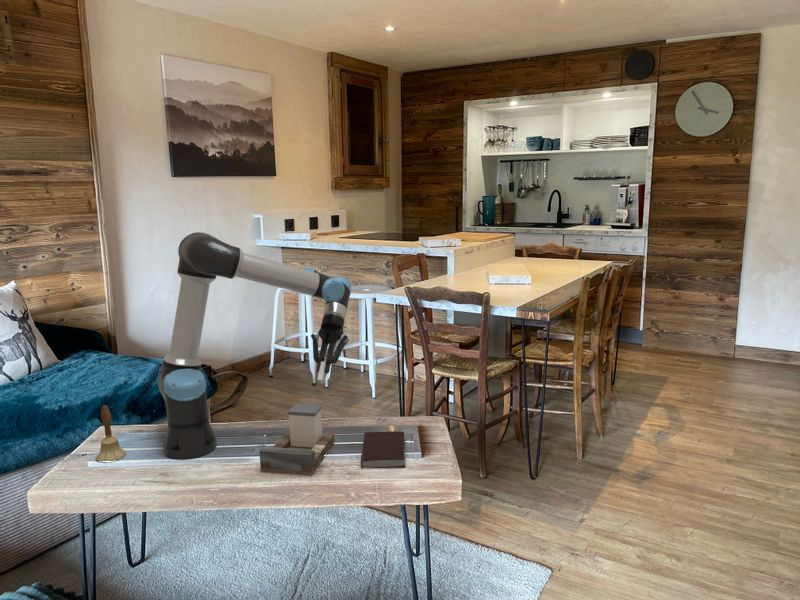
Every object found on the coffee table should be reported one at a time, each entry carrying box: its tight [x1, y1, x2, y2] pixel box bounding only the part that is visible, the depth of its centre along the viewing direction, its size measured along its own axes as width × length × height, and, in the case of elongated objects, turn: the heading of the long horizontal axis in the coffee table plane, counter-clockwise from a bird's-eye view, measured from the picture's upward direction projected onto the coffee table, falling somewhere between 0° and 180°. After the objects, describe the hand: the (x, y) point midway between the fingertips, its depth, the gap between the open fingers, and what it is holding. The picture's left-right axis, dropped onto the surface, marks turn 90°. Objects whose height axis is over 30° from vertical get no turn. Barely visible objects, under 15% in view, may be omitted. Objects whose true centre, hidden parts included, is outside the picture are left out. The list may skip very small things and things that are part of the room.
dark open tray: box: [259, 429, 335, 476], centre depth 180 cm, size 21×15×6 cm
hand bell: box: [95, 405, 127, 462], centre depth 181 cm, size 8×8×16 cm
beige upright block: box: [287, 403, 323, 448], centre depth 186 cm, size 6×8×11 cm
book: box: [360, 430, 406, 469], centre depth 182 cm, size 12×19×3 cm, turn 0°
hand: (320, 381), depth 198 cm, fingers closed
